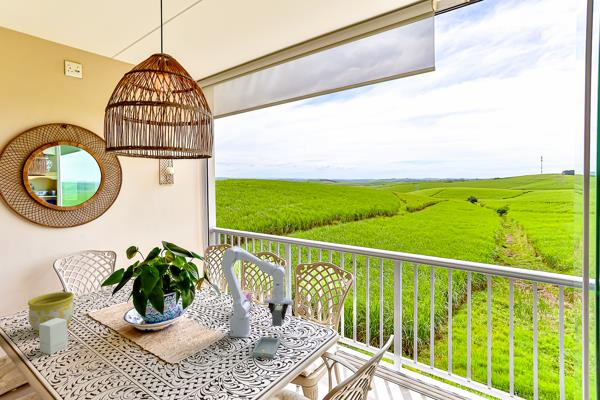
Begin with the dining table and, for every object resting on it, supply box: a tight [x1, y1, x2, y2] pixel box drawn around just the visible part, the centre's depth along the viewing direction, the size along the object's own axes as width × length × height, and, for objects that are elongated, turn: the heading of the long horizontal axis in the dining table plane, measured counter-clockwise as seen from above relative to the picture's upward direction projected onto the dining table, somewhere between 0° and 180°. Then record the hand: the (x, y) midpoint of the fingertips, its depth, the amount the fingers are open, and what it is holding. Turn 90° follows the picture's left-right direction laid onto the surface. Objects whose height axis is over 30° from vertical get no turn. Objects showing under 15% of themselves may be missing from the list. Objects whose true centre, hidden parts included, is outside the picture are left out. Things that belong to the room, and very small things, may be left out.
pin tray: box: [251, 333, 281, 360], centre depth 133 cm, size 10×15×4 cm, turn 171°
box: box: [241, 289, 252, 312], centre depth 172 cm, size 10×6×12 cm, turn 168°
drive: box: [271, 304, 286, 327], centre depth 145 cm, size 4×8×7 cm, turn 171°
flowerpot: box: [27, 291, 75, 335], centre depth 150 cm, size 18×18×16 cm
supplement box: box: [38, 318, 69, 355], centre depth 132 cm, size 7×7×13 cm
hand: (278, 318), depth 145 cm, fingers closed on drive, 4 cm apart
